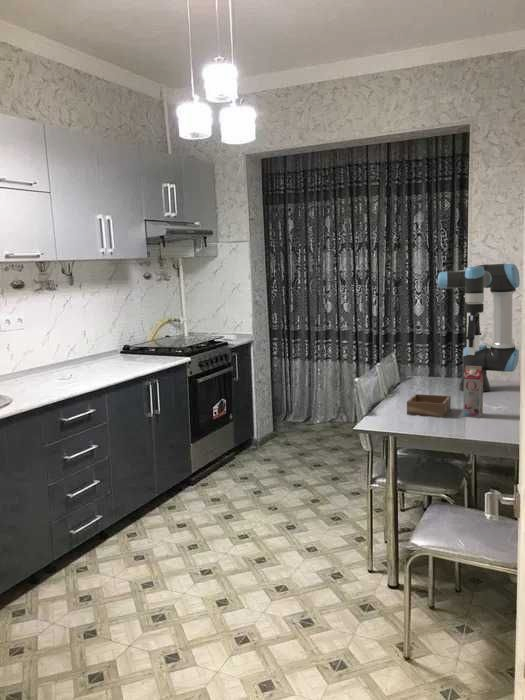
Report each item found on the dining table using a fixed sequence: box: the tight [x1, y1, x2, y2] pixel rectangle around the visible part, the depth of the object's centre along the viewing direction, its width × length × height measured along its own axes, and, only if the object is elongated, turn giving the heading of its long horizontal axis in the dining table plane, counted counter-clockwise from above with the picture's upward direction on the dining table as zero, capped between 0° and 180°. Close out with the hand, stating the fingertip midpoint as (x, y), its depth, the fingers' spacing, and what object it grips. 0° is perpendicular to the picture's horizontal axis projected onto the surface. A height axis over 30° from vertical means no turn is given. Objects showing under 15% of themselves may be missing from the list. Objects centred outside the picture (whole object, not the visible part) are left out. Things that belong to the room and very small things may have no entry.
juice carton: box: [462, 366, 484, 419], centre depth 256 cm, size 7×7×22 cm
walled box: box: [406, 393, 452, 418], centre depth 266 cm, size 16×16×6 cm
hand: (473, 352), depth 254 cm, fingers open, 13 cm apart
